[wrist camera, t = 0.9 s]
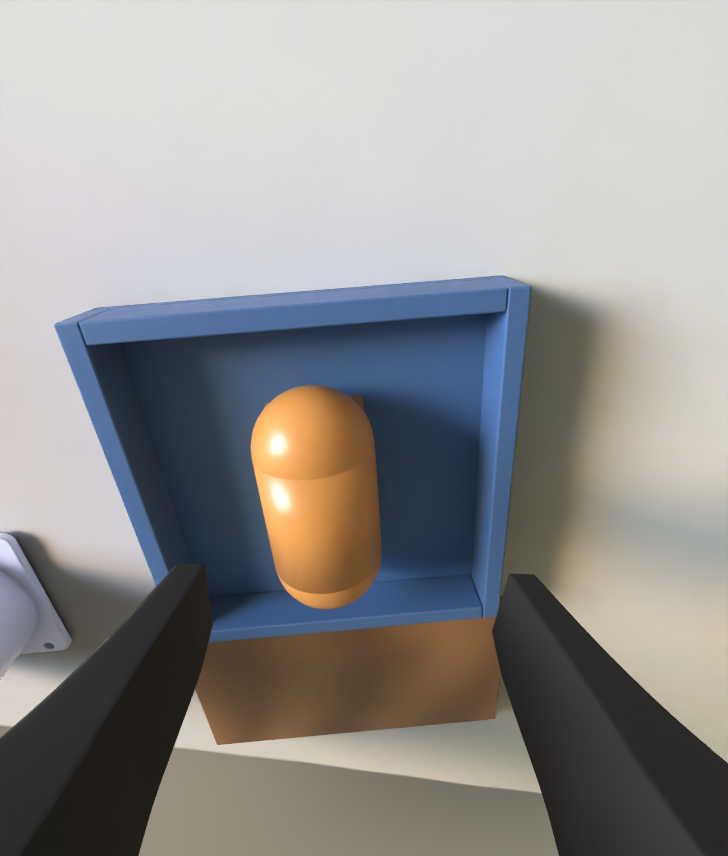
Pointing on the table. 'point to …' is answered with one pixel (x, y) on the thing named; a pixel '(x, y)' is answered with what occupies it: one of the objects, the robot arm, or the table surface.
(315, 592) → the bread roll
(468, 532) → the bread tray
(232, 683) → the bread board
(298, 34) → the table surface
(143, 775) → the robot arm
